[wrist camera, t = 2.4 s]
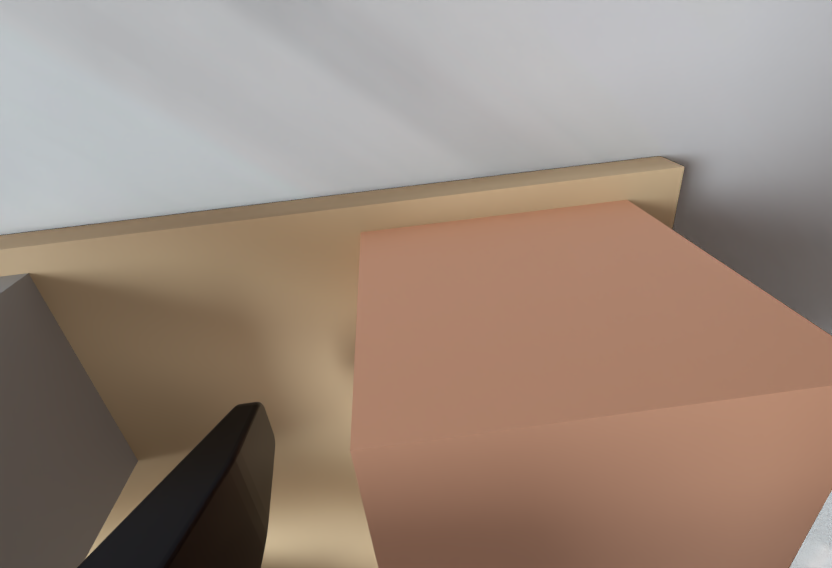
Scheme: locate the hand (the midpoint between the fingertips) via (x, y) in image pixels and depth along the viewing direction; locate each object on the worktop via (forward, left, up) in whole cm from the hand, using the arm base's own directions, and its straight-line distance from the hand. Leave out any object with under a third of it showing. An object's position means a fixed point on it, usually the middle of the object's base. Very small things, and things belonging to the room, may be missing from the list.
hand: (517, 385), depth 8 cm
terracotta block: (0, 0, -2) cm, 2 cm away
